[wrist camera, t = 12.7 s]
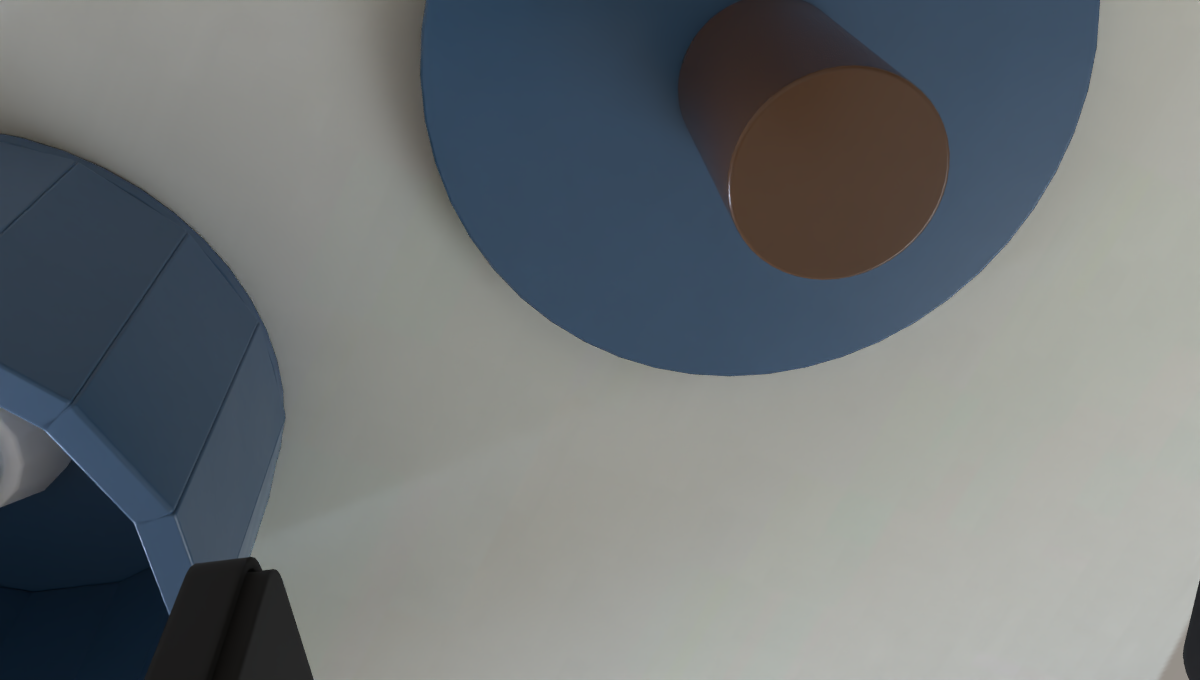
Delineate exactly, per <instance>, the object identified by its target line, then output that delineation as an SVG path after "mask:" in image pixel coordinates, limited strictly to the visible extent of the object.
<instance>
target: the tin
mask: <svg viewBox="0 0 1200 680" xmlns="http://www.w3.org/2000/svg"><path fill="white" fill-rule="evenodd" d="M0 407H1V408H3V409H5V410H7V411H9V412H10V413H12V414H14V415H16V416H18V417H20V418H22V419H24V420H26V421H27V422H29V423H31V424H33V425H35V426H37V427H39V428H41V429H43V430H44V431H45V432H46V433H47V434H48V435H49V436H50V437H51V438H52V439H53V440H54V441H55V442H56V443H57V444H58V445H59V447H60V448H61V449H62V450H63V451H64V452H65V453H66V454H67V455H68V456H69V457H70V458H71V459H72V460H71V461H70V463H69V464H68V466H67V467H66V468H65V469H64V470H63V471H62V472H61V473H60V475H59V476H58V477H57V478H56V479H55V480H54V481H53V482H52V483H51V484H50V485H49V486H48V487H47V488H46V489H45V490H44V491H41V492H39V493H36V494H34V495H31V496H29V497H26V498H24V499H21V500H18V501H16V502H13V503H11V504H8V505H6V506H3V507H0V680H144V678H145V676H146V673H147V671H148V668H149V666H150V663H151V661H152V658H153V656H154V653H155V651H156V648H157V646H158V643H159V640H160V638H161V635H162V633H163V630H164V628H165V625H166V623H167V620H168V618H169V615H170V613H171V610H172V608H173V605H174V603H175V600H176V598H177V595H178V593H179V590H180V588H181V585H182V583H183V580H184V578H185V575H186V573H187V571H188V570H189V568H190V567H191V566H192V565H194V564H196V563H204V562H212V561H221V560H229V559H237V558H245V557H250V555H251V552H252V549H253V546H254V543H255V539H256V536H257V533H258V530H259V527H260V524H261V521H262V518H263V515H264V512H265V509H266V505H267V502H268V499H269V495H270V490H271V486H272V481H273V476H274V471H275V466H276V462H277V459H278V455H279V452H280V448H281V441H282V433H283V428H284V423H285V411H284V404H283V388H282V383H281V378H280V373H279V367H278V362H277V359H276V356H275V353H274V350H273V347H272V344H271V341H270V339H269V336H268V333H267V330H266V328H265V326H264V324H263V322H262V320H261V318H260V316H259V314H258V312H257V311H256V309H255V307H254V305H253V303H252V301H251V299H250V297H249V296H248V294H247V293H246V292H245V290H244V289H243V287H242V286H241V284H240V283H239V281H238V280H237V278H236V277H235V276H234V274H233V273H232V271H231V270H230V268H229V267H228V266H227V265H226V264H225V263H224V262H223V260H222V259H221V258H220V257H219V256H218V255H217V254H216V253H215V251H214V250H213V249H212V248H211V247H210V246H209V245H208V244H207V242H206V241H205V240H204V239H203V238H202V237H200V236H199V235H198V234H197V233H196V232H195V231H194V230H193V229H192V228H190V227H189V226H188V225H187V224H186V223H185V222H184V221H183V220H182V219H180V218H179V217H178V216H177V215H176V214H175V213H174V212H172V211H171V210H169V209H168V208H167V207H165V206H164V205H162V204H161V203H160V202H158V201H157V200H155V199H154V198H153V197H151V196H150V195H148V194H147V193H146V192H144V191H143V190H141V189H140V188H138V187H136V186H134V185H133V184H131V183H129V182H127V181H126V180H124V179H122V178H120V177H119V176H117V175H115V174H113V173H111V172H110V171H108V170H106V169H104V168H102V167H100V166H98V165H95V164H93V163H91V162H88V161H86V160H84V159H81V158H79V157H77V156H75V155H72V154H70V153H68V152H65V151H63V150H59V149H56V148H53V147H50V146H47V145H43V144H40V143H37V142H34V141H30V140H27V139H24V138H20V137H15V136H10V135H5V134H0Z"/></svg>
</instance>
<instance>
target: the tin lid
mask: <svg viewBox="0 0 1200 680" xmlns="http://www.w3.org/2000/svg"><path fill="white" fill-rule="evenodd" d="M1099 8H1100V0H426V4H425V10H424V16H423V22H422V29H421V61H420V79H421V89H422V98H423V108H424V118H425V123H426V127H427V131H428V136H429V140H430V144H431V148H432V152H433V156H434V160H435V164H436V166H437V169H438V171H439V174H440V177H441V179H442V182H443V184H444V187H445V189H446V192H447V195H448V197H449V200H450V202H451V204H452V206H453V208H454V209H455V211H456V213H457V215H458V217H459V218H460V220H461V222H462V224H463V226H464V227H465V229H466V231H467V233H468V235H469V237H470V238H471V239H472V241H473V242H474V244H475V245H476V246H477V248H478V249H479V250H480V252H481V253H482V254H483V256H484V257H485V258H486V260H487V261H488V262H489V264H490V265H491V266H492V268H493V269H494V270H495V271H496V272H497V273H498V274H499V275H500V276H501V278H502V279H503V280H504V281H505V282H506V283H507V284H508V285H509V286H510V287H511V288H512V289H513V290H514V291H515V292H516V293H517V294H518V295H519V296H520V297H521V298H522V299H523V300H525V301H526V302H527V303H528V304H530V305H531V306H532V307H533V308H535V309H536V310H537V311H538V312H540V313H541V314H542V315H543V316H545V317H546V318H547V319H548V320H550V321H551V322H553V323H554V324H556V325H558V326H559V327H561V328H563V329H564V330H566V331H568V332H569V333H571V334H573V335H574V336H576V337H578V338H579V339H581V340H583V341H584V342H586V343H589V344H591V345H593V346H595V347H598V348H600V349H602V350H605V351H607V352H609V353H611V354H614V355H616V356H618V357H621V358H624V359H628V360H631V361H634V362H638V363H641V364H644V365H648V366H651V367H654V368H660V369H665V370H671V371H677V372H683V373H688V374H699V375H717V376H742V375H759V374H770V373H776V372H782V371H788V370H793V369H799V368H805V367H809V366H812V365H816V364H819V363H823V362H826V361H830V360H833V359H836V358H840V357H843V356H846V355H848V354H851V353H853V352H855V351H858V350H860V349H863V348H865V347H868V346H870V345H873V344H875V343H877V342H880V341H882V340H883V339H885V338H887V337H889V336H891V335H893V334H895V333H896V332H898V331H900V330H902V329H904V328H906V327H908V326H909V325H911V324H913V323H915V322H916V321H918V320H919V319H921V318H922V317H924V316H925V315H927V314H928V313H929V312H931V311H932V310H934V309H935V308H937V307H938V306H940V305H941V304H943V303H944V302H946V301H947V300H948V299H950V298H951V297H952V296H953V295H954V294H955V293H957V292H958V291H959V290H960V289H961V288H962V287H964V286H965V285H966V284H967V283H968V282H969V281H971V280H972V279H973V278H974V277H975V276H976V275H978V274H979V273H980V272H981V271H982V270H983V269H984V268H985V267H986V266H987V264H988V263H989V262H990V261H991V260H992V259H993V258H994V257H995V256H996V255H997V254H998V253H999V252H1000V251H1001V250H1002V249H1003V248H1004V247H1005V245H1006V244H1007V243H1008V242H1009V241H1010V240H1011V238H1012V237H1013V236H1014V234H1015V233H1016V232H1017V230H1018V229H1019V228H1020V226H1021V225H1022V224H1023V223H1024V221H1025V220H1026V219H1027V217H1028V216H1029V215H1030V213H1031V212H1032V211H1033V209H1034V208H1035V206H1036V205H1037V203H1038V201H1039V200H1040V198H1041V196H1042V195H1043V193H1044V191H1045V190H1046V188H1047V186H1048V185H1049V183H1050V181H1051V180H1052V178H1053V176H1054V175H1055V173H1056V171H1057V169H1058V167H1059V165H1060V162H1061V160H1062V158H1063V156H1064V154H1065V152H1066V149H1067V147H1068V145H1069V143H1070V141H1071V139H1072V136H1073V134H1074V132H1075V129H1076V126H1077V123H1078V120H1079V116H1080V113H1081V110H1082V107H1083V104H1084V101H1085V98H1086V95H1087V92H1088V88H1089V83H1090V78H1091V73H1092V68H1093V63H1094V58H1095V53H1096V48H1097V35H1098V21H1099Z"/></svg>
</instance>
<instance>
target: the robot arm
mask: <svg viewBox="0 0 1200 680" xmlns="http://www.w3.org/2000/svg"><path fill="white" fill-rule="evenodd" d="M1183 659H1184V665H1185V669H1186V673H1187V675H1188V678H1189V680H1200V581H1199V585H1198V590H1197V594H1196V598H1195V602H1194V606H1193V611H1192V615H1191V619H1190V623H1189V627H1188V632H1187V636H1186V640H1185V644H1184V650H1183ZM144 680H314V679H313V676H312V673H311V669H310V666H309V663H308V660H307V657H306V653H305V650H304V647H303V644H302V641H301V638H300V634H299V631H298V628H297V625H296V622H295V619H294V615H293V612H292V609H291V606H290V603H289V600H288V596H287V593H286V590H285V587H284V584H283V580H282V578H281V576H280V574H279V572H278V571H277V570H274V569H272V570H264V571H262V569H261V566H260V564H259V562H258V561H257V560H256V559H255V558H253V557H245V558H237V559H229V560H221V561H212V562H204V563H196V564H194V565H192V566H191V567H190V568H189V570H188V571H187V573H186V575H185V578H184V580H183V583H182V585H181V588H180V590H179V593H178V595H177V598H176V600H175V603H174V605H173V608H172V610H171V613H170V615H169V618H168V620H167V623H166V625H165V628H164V630H163V633H162V635H161V638H160V640H159V643H158V646H157V648H156V651H155V653H154V656H153V658H152V661H151V663H150V666H149V668H148V671H147V673H146V676H145V678H144Z"/></svg>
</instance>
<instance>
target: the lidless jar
mask: <svg viewBox="0 0 1200 680" xmlns="http://www.w3.org/2000/svg"><path fill="white" fill-rule="evenodd" d="M71 460H72V459H71V458H70V457H69V456H68V455H67V454H66V453H65V452H64V451H63V450H62V449H61V448H60V447H59V445H58V444H57V443H56V442H55V441H54V440H53V439H52V438H51V437H50V436H49V435H48V434H47V433H46V432H45V431H44V430H43V429H41V428H39V427H37V426H35V425H33V424H31V423H29V422H27V421H26V420H24V419H22V418H20V417H18V416H16V415H14V414H12V413H10V412H9V411H7V410H5V409H3V408H1V407H0V507H3V506H6V505H8V504H11V503H13V502H16V501H18V500H21V499H24V498H26V497H29V496H31V495H34V494H36V493H39V492H41V491H44V490H45V489H46V488H47V487H48V486H49V485H50V484H51V483H52V482H53V481H54V480H55V479H56V478H57V477H58V476H59V475H60V473H61V472H62V471H63V470H64V469H65V468H66V467H67V466H68V464H69V463H70V461H71Z"/></svg>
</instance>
